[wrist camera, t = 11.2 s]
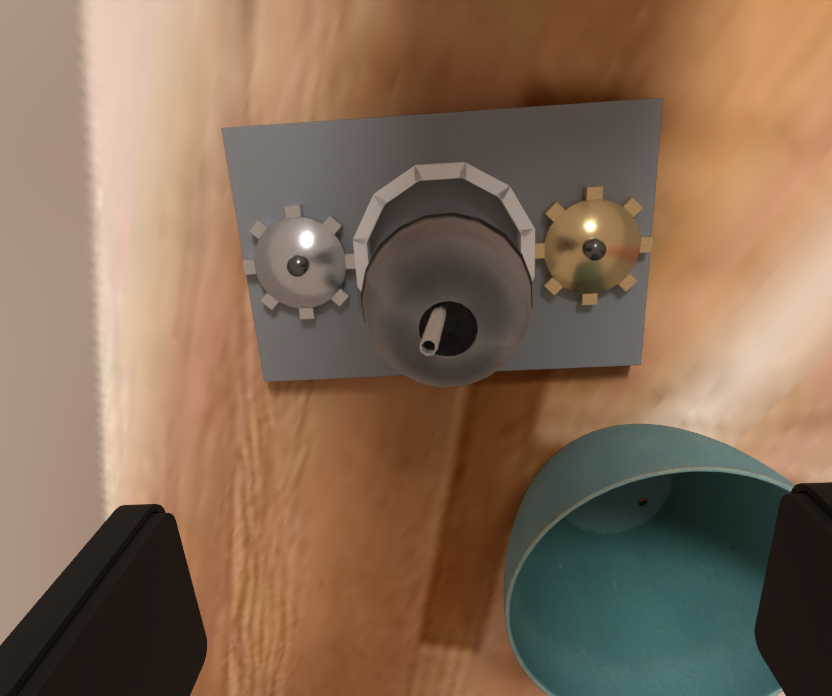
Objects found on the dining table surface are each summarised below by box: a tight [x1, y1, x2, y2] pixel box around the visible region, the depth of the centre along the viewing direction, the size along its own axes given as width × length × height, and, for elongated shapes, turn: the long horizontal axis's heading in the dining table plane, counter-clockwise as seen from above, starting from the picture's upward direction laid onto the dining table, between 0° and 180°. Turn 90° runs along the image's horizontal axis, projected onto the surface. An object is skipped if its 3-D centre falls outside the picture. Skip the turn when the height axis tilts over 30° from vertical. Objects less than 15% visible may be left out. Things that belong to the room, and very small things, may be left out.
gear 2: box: [535, 185, 653, 305], centre depth 33 cm, size 7×7×2 cm
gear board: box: [221, 98, 663, 382], centre depth 35 cm, size 16×25×3 cm, turn 94°
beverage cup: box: [361, 213, 533, 388], centre depth 25 cm, size 7×7×20 cm
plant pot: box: [504, 424, 795, 696], centre depth 36 cm, size 18×18×12 cm
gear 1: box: [242, 204, 356, 319], centre depth 34 cm, size 7×7×2 cm
